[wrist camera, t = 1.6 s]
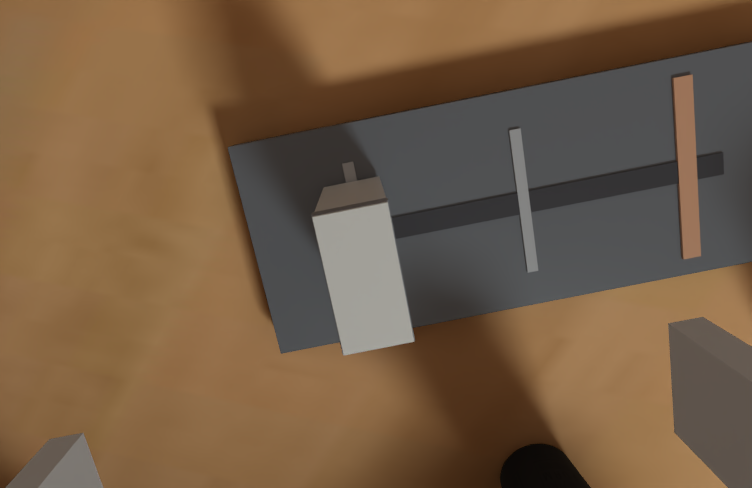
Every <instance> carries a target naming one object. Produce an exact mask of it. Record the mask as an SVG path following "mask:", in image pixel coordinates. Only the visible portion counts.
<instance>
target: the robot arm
mask: <svg viewBox="0 0 752 488" xmlns="http://www.w3.org/2000/svg"><path fill="white" fill-rule="evenodd" d="M668 325H669V343H670V361H671V379H672V397H673V415H674V432H675V433H676V434H677V435H678V437H679V438H680V439H681V440H682V441H683V442H684V443H685V444H686V445H687V446H688V447H689V448H690V449H691V450H692V451H693V452H694V453H695V454H696V455H697V456H698V457H699V458H700V459H701V460H702V461H703V462H704V463H705V464H706V465H707V466H708V467H709V468H710V469H711V470H712V471H713V473H714V474H715V475H716V476H717V477H718V478H719V479H720V480H721V481H722V482H723V483H724V484H725V485H726V486H727V487H728V488H752V347H751V346H750V345H748V344H746V343H745V342H743V341H741V340H740V339H738V338H736V337H735V336H733V335H732V334H730V333H728V332H727V331H725V330H723V329H722V328H720V327H719V326H717V325H715V324H714V323H712V322H710V321H709V320H707V319H705V318H704V317H700V318H695V319H689V320H684V321H679V322H673V323H668ZM6 488H103V486H102V483H101V480H100V478H99V475H98V472H97V469H96V467H95V464H94V461H93V458H92V456H91V453H90V450H89V447H88V445H87V442H86V439H85V436H84V434H83V433H80V434H75V435H70V436H64V437H59V438H53V439H49V440H48V441H47V443H46V444H45V445H44V446H43V447H42V448H41V449H40V450H39V451H38V452H37V454H36V455H35V456H34V457H33V458H32V459H31V460H30V461H29V462H28V463H27V464H26V466H25V467H24V468H23V469H22V470H21V471H20V472H19V473H18V474H17V475H16V477H15V478H14V479H13V480H12V481H11V482H10V483H9V484H8V485H7V486H6Z"/></svg>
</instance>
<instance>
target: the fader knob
mask: <svg viewBox="0 0 752 488" xmlns="http://www.w3.org/2000/svg"><path fill="white" fill-rule="evenodd" d="M311 217H312V222H313V226H314V230H315V235H316V239H317V243H318V248H319V252H320V257H321V261H322V265H323V270H324V274H325V279H326V283H327V287H328V292H329V296H330V300H331V305H332V309H333V314H334V318H335V322H336V327H337V331H338V335H339V340H340V344H341V349H342V353H343V355H349V354H354V353H359V352H364V351H369V350H375V349H380V348H385V347H390V346H395V345H400V344H405V343H411V342H414V341H415V337H414V332H413V327H412V322H411V316H410V311H409V306H408V301H407V295H406V290H405V285H404V280H403V274H402V269H401V264H400V259H399V253H398V248H397V243H396V238H395V232H394V227H393V222H392V217H391V211H390V206H389V201H388V198H386V196H385V193H384V190H383V187H382V184H381V180H380V177H379V176H378V177H373V178H368V179H363V180H358V181H353V182H348V183H343V184H338V185H333V186H328V187H324V188H323V190H322V193H321V196H320V198H319V201H318V203H317V206H316V209H315V211H314V212H312V214H311Z"/></svg>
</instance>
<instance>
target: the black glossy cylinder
mask: <svg viewBox="0 0 752 488" xmlns="http://www.w3.org/2000/svg"><path fill="white" fill-rule="evenodd" d="M500 481H501V486H502V488H591V487H590V486H589V485H588V483H587V482H586V481H585V480H584V478H583V477H582V476H581V474H580V473H579V472H578V471H577V469H576V468H575V467H574V465H573V464H572V463H571V461H570V460H569V459H568V458H567V456H566V455H565V454H564V453H563V452H562V451H560V450H559V449H557V448H555V447H553V446H550V445H545V444H533V445H529V446H525V447H523V448H521V449H519V450H517V451H516V452H514V453H513V454H512V455H511V456H510V457H509V458H508V459H507V460H506V462H505V463H504V465H503V468H502V471H501V476H500Z"/></svg>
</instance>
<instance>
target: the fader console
mask: <svg viewBox="0 0 752 488" xmlns="http://www.w3.org/2000/svg"><path fill="white" fill-rule="evenodd" d="M228 151H229V155H230V159H231V162H232V166H233V170H234V174H235V178H236V182H237V186H238V189H239V193H240V197H241V201H242V205H243V209H244V213H245V216H246V220H247V224H248V228H249V232H250V236H251V240H252V243H253V247H254V251H255V255H256V259H257V263H258V267H259V270H260V274H261V278H262V282H263V286H264V290H265V294H266V297H267V301H268V305H269V309H270V313H271V317H272V321H273V324H274V328H275V332H276V336H277V340H278V344H279V348H280V351H281V353H286V352H292V351H297V350H302V349H307V348H312V347H317V346H322V345H327V344H333V343H338V342H340V340H339V335H338V331H337V327H336V322H335V318H334V314H333V309H332V305H331V300H330V296H329V292H328V287H327V283H326V279H325V274H324V270H323V265H322V261H321V257H320V252H319V248H318V243H317V239H316V235H315V230H314V226H313V222H312V217H311V214H312V212H314V211H315V209H316V206H317V203H318V201H319V198H320V196H321V193H322V190H323V188H324V187H328V186H333V185H338V184H343V183H348V182H353V181H358V180H363V179H368V178H373V177H378V176H379V177H380V180H381V184H382V187H383V190H384V193H385V196H386V198H388V201H389V206H390V211H391V217H392V222H393V227H394V232H395V238H396V243H397V248H398V253H399V259H400V264H401V269H402V274H403V280H404V285H405V290H406V295H407V301H408V306H409V311H410V316H411V322H412V327H413V328H415V327H420V326H425V325H430V324H435V323H440V322H445V321H450V320H456V319H461V318H466V317H471V316H476V315H481V314H486V313H492V312H497V311H502V310H507V309H512V308H517V307H522V306H527V305H533V304H538V303H543V302H548V301H553V300H558V299H563V298H568V297H574V296H579V295H584V294H589V293H594V292H599V291H604V290H609V289H615V288H620V287H625V286H630V285H635V284H640V283H645V282H650V281H656V280H661V279H666V278H671V277H676V276H681V275H686V274H692V273H697V272H702V271H707V270H712V269H717V268H722V267H727V266H733V265H738V264H743V263H748V262H752V41H750V42H745V43H740V44H735V45H730V46H725V47H720V48H715V49H710V50H705V51H700V52H695V53H690V54H685V55H680V56H675V57H670V58H665V59H660V60H655V61H650V62H645V63H640V64H635V65H630V66H625V67H620V68H615V69H610V70H605V71H601V72H596V73H591V74H586V75H581V76H576V77H571V78H566V79H561V80H556V81H551V82H546V83H541V84H536V85H531V86H526V87H521V88H516V89H511V90H506V91H501V92H496V93H491V94H486V95H481V96H476V97H471V98H466V99H461V100H456V101H451V102H446V103H441V104H436V105H431V106H426V107H421V108H416V109H411V110H406V111H401V112H396V113H391V114H386V115H381V116H376V117H371V118H366V119H361V120H356V121H351V122H346V123H341V124H336V125H331V126H326V127H321V128H316V129H311V130H306V131H301V132H296V133H291V134H286V135H281V136H276V137H271V138H266V139H261V140H256V141H251V142H246V143H241V144H236V145H233V146H230V147H228Z"/></svg>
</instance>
